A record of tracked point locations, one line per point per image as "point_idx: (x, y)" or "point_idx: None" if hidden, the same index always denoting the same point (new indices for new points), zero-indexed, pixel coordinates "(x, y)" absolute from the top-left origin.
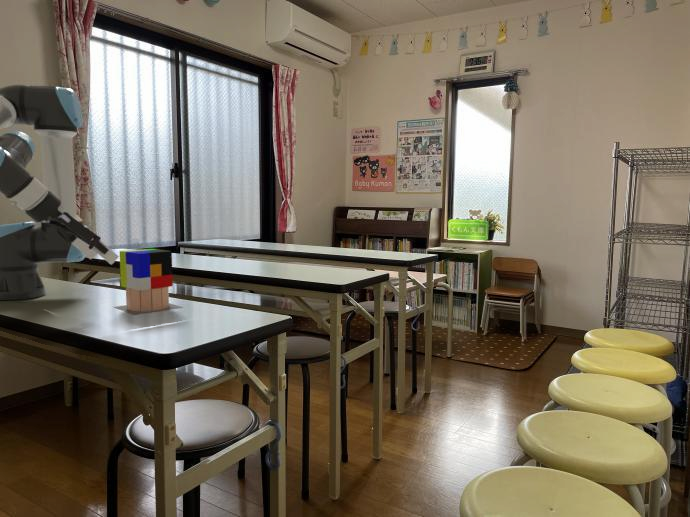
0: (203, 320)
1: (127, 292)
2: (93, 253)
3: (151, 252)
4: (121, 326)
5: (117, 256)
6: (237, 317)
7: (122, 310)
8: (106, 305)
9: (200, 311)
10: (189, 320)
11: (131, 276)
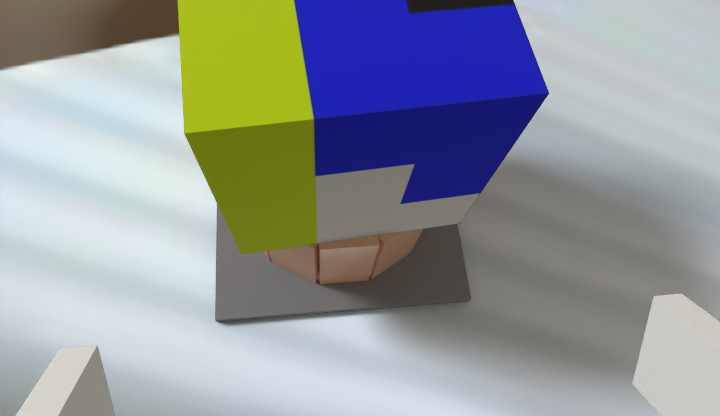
0: (663, 124)
1: (338, 256)
2: (98, 407)
3: None
4: (630, 412)
5: (690, 308)
6: (665, 29)
7: (334, 310)
8: (102, 322)
9: None
10: (641, 159)
11: (384, 204)
